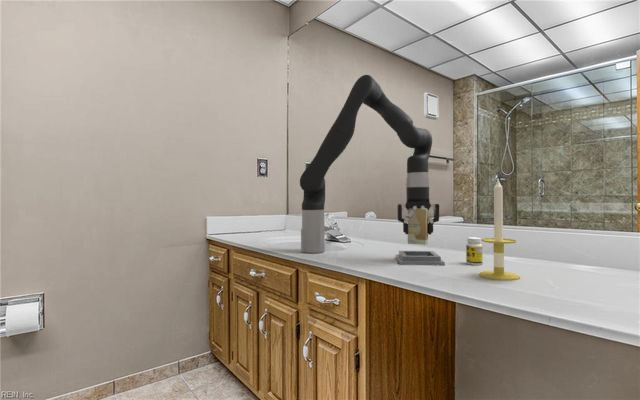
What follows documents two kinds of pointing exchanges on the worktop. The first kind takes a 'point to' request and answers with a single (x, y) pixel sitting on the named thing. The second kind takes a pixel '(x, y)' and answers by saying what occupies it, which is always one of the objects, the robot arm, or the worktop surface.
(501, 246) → the candle
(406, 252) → the gray square tray
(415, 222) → the skincare box
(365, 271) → the worktop surface
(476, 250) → the supplement bottle
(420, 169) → the robot arm
